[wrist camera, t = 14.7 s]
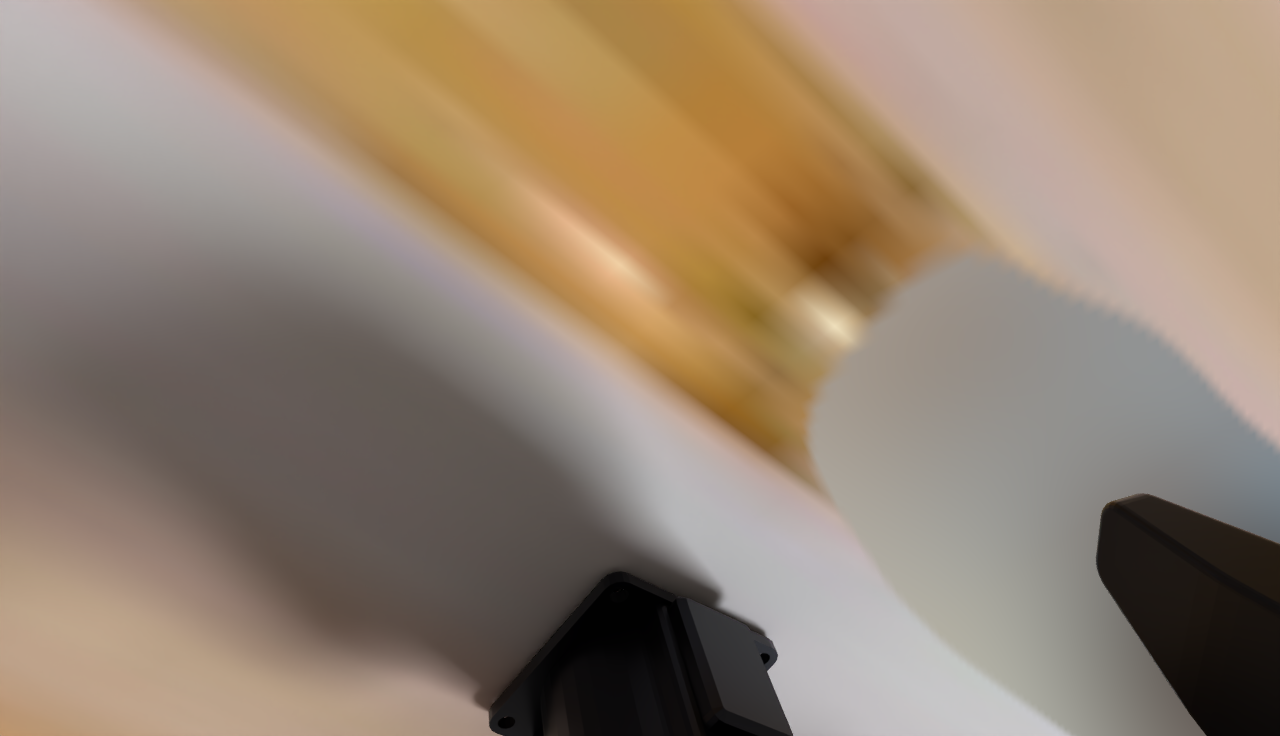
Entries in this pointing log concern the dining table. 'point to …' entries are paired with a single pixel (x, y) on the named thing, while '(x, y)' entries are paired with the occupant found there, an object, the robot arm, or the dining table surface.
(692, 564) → the dining table surface
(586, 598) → the robot arm
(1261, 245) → the dining table surface
